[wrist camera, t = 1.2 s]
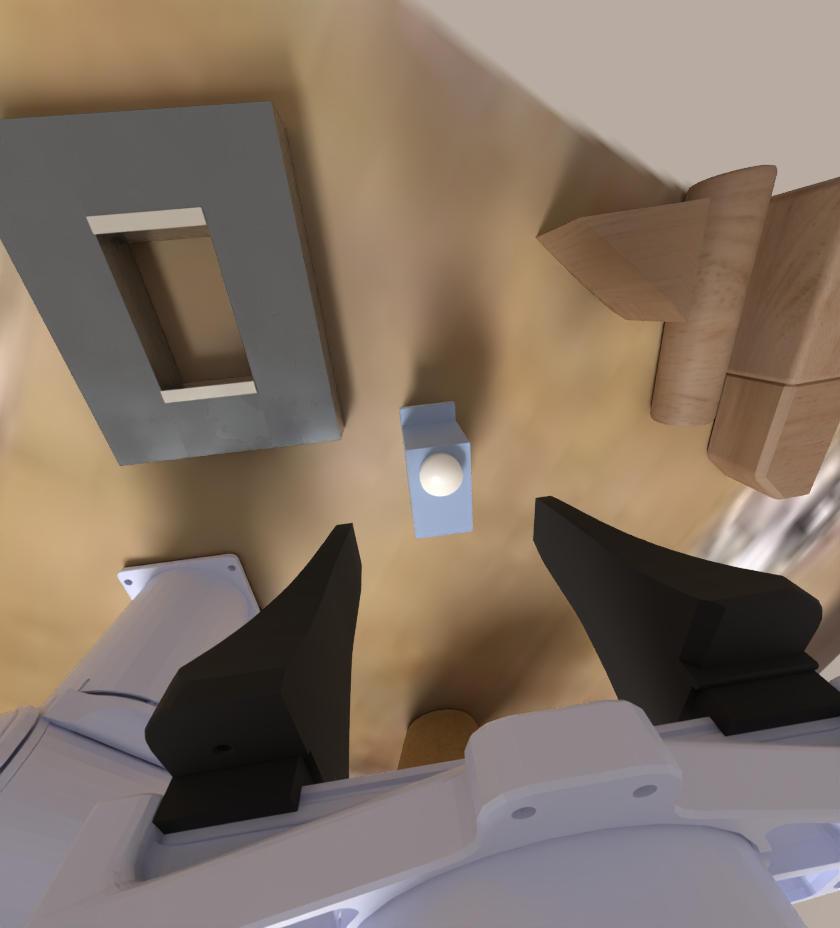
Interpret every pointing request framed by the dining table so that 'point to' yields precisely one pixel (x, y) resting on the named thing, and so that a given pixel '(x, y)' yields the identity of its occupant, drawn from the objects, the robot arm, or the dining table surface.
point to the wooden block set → (731, 315)
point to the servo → (437, 469)
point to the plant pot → (437, 738)
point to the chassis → (123, 291)
